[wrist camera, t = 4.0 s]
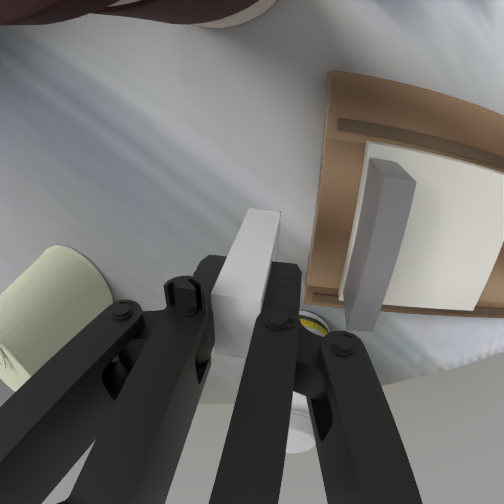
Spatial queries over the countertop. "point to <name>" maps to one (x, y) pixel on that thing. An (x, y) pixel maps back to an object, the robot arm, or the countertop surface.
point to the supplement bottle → (303, 398)
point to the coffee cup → (135, 11)
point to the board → (401, 134)
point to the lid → (420, 233)
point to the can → (47, 310)
